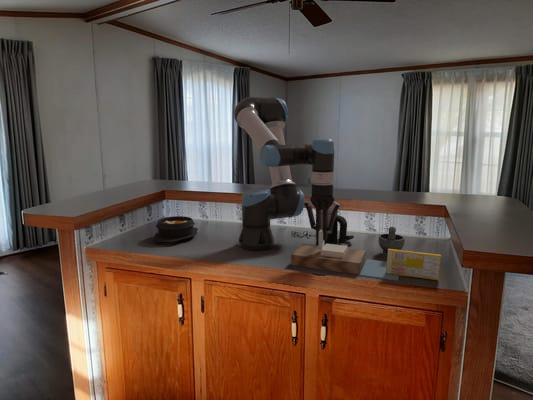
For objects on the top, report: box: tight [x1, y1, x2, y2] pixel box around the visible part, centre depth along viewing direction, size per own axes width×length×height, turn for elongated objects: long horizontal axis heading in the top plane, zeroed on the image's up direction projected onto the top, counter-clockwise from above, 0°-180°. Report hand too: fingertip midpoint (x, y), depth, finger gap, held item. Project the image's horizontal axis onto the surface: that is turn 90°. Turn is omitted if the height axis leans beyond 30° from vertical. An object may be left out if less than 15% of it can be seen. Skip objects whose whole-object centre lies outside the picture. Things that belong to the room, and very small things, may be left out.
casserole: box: [151, 215, 199, 243], centre depth 170 cm, size 25×19×8 cm
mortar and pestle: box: [378, 226, 406, 257], centre depth 146 cm, size 11×9×12 cm
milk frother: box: [315, 208, 355, 246], centre depth 159 cm, size 14×16×15 cm
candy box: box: [386, 249, 442, 281], centre depth 124 cm, size 16×2×8 cm, turn 71°
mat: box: [359, 258, 400, 282], centre depth 131 cm, size 12×16×1 cm
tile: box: [321, 244, 349, 258], centre depth 136 cm, size 8×8×2 cm
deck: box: [290, 243, 367, 275], centre depth 138 cm, size 24×14×4 cm, turn 68°
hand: (321, 248), depth 138 cm, fingers closed
